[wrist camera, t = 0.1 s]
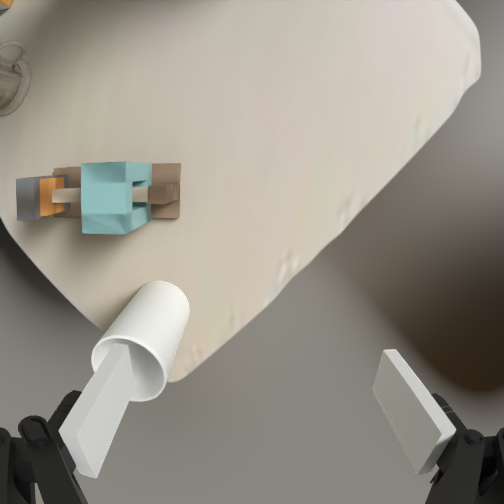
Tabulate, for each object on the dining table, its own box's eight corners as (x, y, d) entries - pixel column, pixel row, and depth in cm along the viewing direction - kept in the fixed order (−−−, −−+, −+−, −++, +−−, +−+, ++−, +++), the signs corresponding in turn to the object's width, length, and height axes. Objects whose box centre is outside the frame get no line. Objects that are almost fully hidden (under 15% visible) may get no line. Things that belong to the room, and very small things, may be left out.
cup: (153, 269, 42) (109, 320, 27) (200, 303, 44) (181, 369, 28) (125, 310, 44) (80, 370, 28) (170, 342, 45) (143, 413, 30)
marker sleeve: (114, 164, 36) (81, 163, 27) (152, 163, 36) (126, 161, 27) (114, 219, 37) (82, 233, 29) (151, 220, 38) (125, 234, 29)
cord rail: (57, 168, 38) (16, 170, 28) (180, 163, 39) (161, 161, 29) (58, 215, 40) (18, 228, 30) (179, 217, 41) (160, 231, 31)
